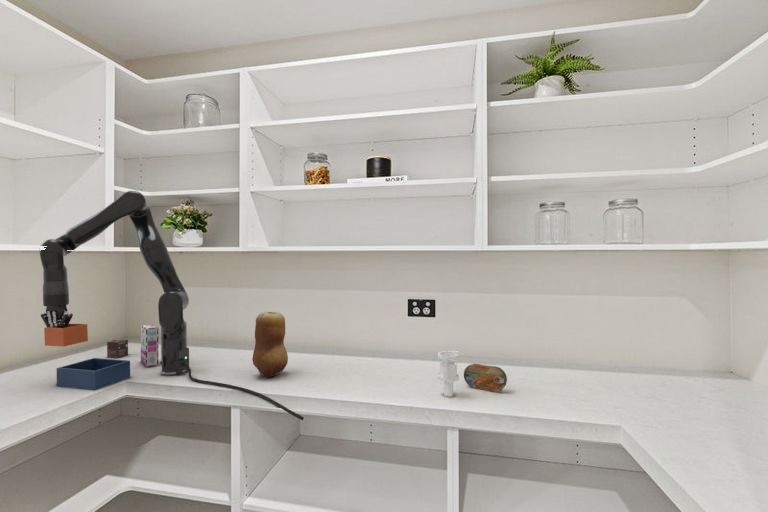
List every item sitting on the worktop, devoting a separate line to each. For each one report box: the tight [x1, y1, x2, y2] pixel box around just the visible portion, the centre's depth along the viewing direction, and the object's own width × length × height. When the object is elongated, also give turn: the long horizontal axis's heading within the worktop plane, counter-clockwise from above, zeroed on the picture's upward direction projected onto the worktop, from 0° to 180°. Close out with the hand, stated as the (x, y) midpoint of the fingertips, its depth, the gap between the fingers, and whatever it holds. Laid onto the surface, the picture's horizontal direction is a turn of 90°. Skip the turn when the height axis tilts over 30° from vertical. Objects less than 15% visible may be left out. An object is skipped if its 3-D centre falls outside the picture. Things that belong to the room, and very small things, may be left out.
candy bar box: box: [140, 324, 159, 368], centre depth 175 cm, size 11×5×16 cm, turn 42°
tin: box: [463, 363, 508, 393], centre depth 141 cm, size 15×3×8 cm, turn 56°
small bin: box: [43, 322, 89, 347], centre depth 150 cm, size 9×9×6 cm
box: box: [106, 338, 129, 359], centre depth 188 cm, size 6×6×7 cm
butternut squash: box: [252, 311, 289, 379], centre depth 158 cm, size 14×13×25 cm
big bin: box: [56, 357, 131, 391], centre depth 151 cm, size 18×15×7 cm
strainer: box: [437, 350, 460, 397], centre depth 136 cm, size 7×7×15 cm
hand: (57, 338), depth 151 cm, fingers closed on small bin, 1 cm apart
